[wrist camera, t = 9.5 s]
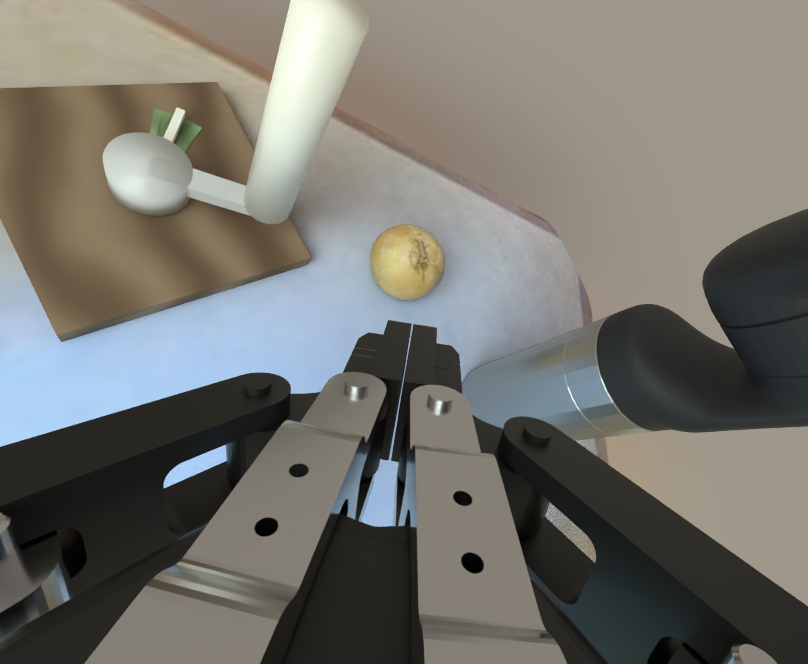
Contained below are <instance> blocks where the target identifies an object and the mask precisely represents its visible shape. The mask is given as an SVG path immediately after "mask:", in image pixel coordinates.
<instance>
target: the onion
mask: <svg viewBox="0 0 808 664" xmlns="http://www.w3.org/2000/svg"><path fill="white" fill-rule="evenodd" d="M370 265H371V271H372V274H373V277H374V279H375V282H376V283H377V285H378V286H379V287H380V288H381V289H382V290H383V291H384V292H386V293H387V294H389V295H390V296H392V297H394V298H396V299H400V300H416V299H419V298H421V297H423V296H425V295H427V294H429V293H430V292H431V291H432V290H433V289H434V288H435V287H436V286H437V285H438V284H439V282H440V280H441V278H442V277H443V274H444V268H445V260H444V254H443V249H442V247H441V245H440V243H439V242H438V241H437V240H436V238H435V237H434V236H433V235H432V234H430V233H429V232H427V231H426V230H424V229H422V228H420V227H417V226H414V225H409V224H404V225H398V226H395V227H392V228H389V229H387V230H386V231H384V232H383V233H382V234H381V235H380V236H379V237H378V238H377V239H376V241H375V242H374V244H373V247H372V250H371V254H370Z"/></svg>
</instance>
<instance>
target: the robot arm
mask: <svg viewBox="0 0 808 664" xmlns="http://www.w3.org/2000/svg"><path fill="white" fill-rule="evenodd" d="M702 283H703V289H704V292H705V296H706V298H707V300H708V303H709V306H710V308H711V310H712V312H713V314H714V316H715V318H716V319H717V321H718V323H720V326H721V328H722V329H723V331H724V333H725V334H726V336H727V337H728V339H729V341H730V343H731V344H732V346H733V347H734V349H733V348H730V347H727V346H725V345H723V344H720V343H718V342H716V341H714V340H712V339H711V338H709V337H707V336H705V335H704V334H702V333H701V332H700V331H698V330H697V329H695V328H694V327H693V326H692V325H690V324H689V323H688V322H686V321H685V320H684V319H683V318H681V317H680V316H679V315H677V314H676V313H674V312H672V311H671V310H669V309H667V308H664V307H661V306H658V305H653V304H643V305H637V306H634V307H631V308H628V309H625V310H623V311H620V312H618V313H615V314H613V315H610V316H608V317H605V318H603V319H600V320H598V321H595V322H593V323H590V324H587V325H585V326H582V327H580V328H578V329H575V330H573V331H570V332H568V333H565V334H562V335H560V336H557V337H555V338H552V339H550V340H547V341H545V342H542V343H539V344H537V345H534V346H532V347H529V348H527V349H524V350H522V351H519V352H516V353H514V354H511V355H509V356H506V357H504V358H501V359H498V360H496V361H493V362H490V363H488V364H485V365H483V366H480V367H478V368H476V369H474V370H473V371H471V372H470V373H469V374H468V375H467V377H466V378H465V380H464V382H463V384H461V373H460V360H459V354H458V353H457V352H456V350H455V349H454V348H453V347H452V346H450V345H443V344H437V343H436V338H437V328H435V327H429V326H422V325H416V324H414V325H413V331H412V336H411V342H410V348H409V354H408V359H407V365H406V371H405V377H404V383H403V389H402V395H401V402H400V408H399V414H398V421H397V427H396V433H395V439H394V446H393V452H392V458H391V461H396V462H399V465H398V472H397V478H396V484H395V496H394V519H393V526H389V527H374V526H370V525H367V524H365V523H362V522H361V521H362V518H363V515H364V512H365V509H366V506H367V503H368V499H369V496H370V493H371V490H372V487H373V483H374V477H375V473H376V471H377V470H378V467H379V462H380V459H383V460H389V455H390V449H391V443H392V438H393V432H394V427H395V421H396V415H397V410H398V404H399V399H400V393H401V387H402V381H403V375H404V369H405V363H406V356H407V350H408V344H409V337H410V331H411V324H410V323H403V322H397V321H391V320H388V322H387V325H386V328H385V331H384V334H383V335H381V334H375V333H367V334H365V335H364V336H362V337H360V338H359V339H358V341H357V343H356V345H355V348H354V350H353V352H352V355H351V356H350V358H349V361H348V363H347V365H346V367H345V369H344V371H343V373H340V374H337V375H335V376H333V377H332V378H330V379H329V381H328V382H327V383H326V385H325V386H324V388H323V389H322V391H321V392H317V393H308V394H290V393H291V387H290V384H289V382H288V381H287V380H286V379H284V378H283V377H280V376H278V375H275V374H270V373H249V374H244V375H240V376H237V377H234V378H230V379H227V380H224V381H220V382H217V383H214V384H210V385H207V386H204V387H200V388H197V389H193V390H190V391H187V392H183V393H180V394H177V395H173V396H170V397H167V398H163V399H160V400H157V401H153V402H150V403H146V404H143V405H140V406H136V407H133V408H130V409H126V410H123V411H120V412H116V413H113V414H110V415H106V416H103V417H99V418H96V419H93V420H89V421H86V422H83V423H79V424H76V425H73V426H69V427H66V428H62V429H59V430H56V431H52V432H49V433H46V434H42V435H39V436H36V437H32V438H29V439H26V440H22V441H19V442H15V443H12V444H9V445H5V446H2V447H0V664H808V606H806V605H805V604H804V603H802V602H801V601H799V600H798V599H796V598H795V597H794V596H792V595H791V594H789V593H788V592H787V591H785V590H784V589H782V588H781V587H779V586H778V585H777V584H775V583H774V582H773V581H771V580H770V579H768V578H767V577H766V576H764V575H762V574H761V573H760V572H759V571H757V570H756V569H754V568H753V567H751V566H750V565H749V564H747V563H746V562H744V561H743V560H742V559H740V558H739V557H737V556H736V555H735V554H733V553H732V552H730V551H729V550H727V549H726V548H725V547H723V546H722V545H721V544H719V543H718V542H716V541H715V540H714V539H712V538H711V537H709V536H708V535H706V534H705V533H704V532H702V531H701V530H699V529H698V528H697V527H695V526H694V525H692V524H691V523H690V522H688V521H687V520H685V519H684V518H682V517H681V516H680V515H678V514H677V513H675V512H674V511H673V510H671V509H670V508H669V507H667V506H666V505H664V504H663V503H661V502H660V501H659V500H657V499H656V498H654V497H653V496H652V495H650V494H649V493H647V492H646V491H645V490H643V489H642V488H640V487H639V486H638V485H636V484H635V483H633V482H632V481H631V480H629V479H628V478H626V477H625V476H623V475H622V474H621V473H619V472H618V471H616V470H615V469H614V468H612V467H611V466H609V465H608V464H607V463H605V462H604V461H602V460H601V459H600V458H598V457H597V456H595V455H594V454H593V453H591V452H590V451H588V450H587V449H586V448H584V447H583V446H581V445H580V444H578V443H577V442H576V440H585V439H593V438H602V437H611V436H619V435H626V434H635V433H644V432H652V431H660V430H670V429H672V430H678V431H684V432H695V433H698V432H715V431H727V430H743V429H744V430H745V429H760V428H761V429H762V428H782V427H805V426H808V209H806V210H803V211H800V212H797V213H795V214H792V215H790V216H787V217H785V218H783V219H780V220H777V221H775V222H772V223H770V224H767V225H765V226H763V227H761V228H759V229H757V230H755V231H753V232H751V233H749V234H747V235H745V236H743V237H741V238H739V239H738V240H736V241H735V242H733V243H732V244H730V245H729V246H727V247H726V248H725V249H723V250H722V251H721V252H720V253H718V254H717V255H716V256H715V257H714V258H713V259H712V260H711V261H710V263H709V265H708V266H707V268H706V269H705V271H704V275H703V281H702ZM223 445H226V451H227V461H226V462H223V463H221V464H219V465H217V466H214V467H212V468H210V469H208V470H205V471H203V472H201V473H198V474H196V475H194V476H192V477H189V478H187V479H185V480H183V481H180V482H178V483H176V484H174V485H171V486H169V487H167V488H164V487H163V484H164V480H165V478H166V476H167V474H168V473H169V472H170V471H171V470H172V469H173V468H174V467H175V466H177V465H178V464H180V463H182V462H184V461H187V460H189V459H191V458H194V457H196V456H199V455H201V454H204V453H206V452H209V451H211V450H213V449H216V448H218V447H221V446H223ZM550 502H551V503H552V504H553V505H554V506H555V507H556V508H557V509H558V510H560V511H561V512H562V513H563V514H564V515H565V516H566V517H567V518H569V519H570V520H571V521H572V522H573V523H574V524H575V525H576V526H578V527H579V528H580V529H581V530H582V531H583V532H584V533H585V534H586V535H587V536H588V537H589V538H590V540H591V541H592V543H593V545H594V548H595V551H596V562H595V563H594V562H593V561H592V560H591V559H590V558H589V557H587V556H586V555H585V554H584V553H583V552H582V551H581V550H580V549H579V548H578V547H577V546H576V545H575V544H574V543H572V542H571V541H570V540H569V539H568V538H567V537H566V536H565V535H564V534H563V533H562V532H561V531H560V530H558V529H557V528H556V527H555V526H554V525H553V524H552V523H551V522H550V521H549V520H548V519H547V518H546V517H545V514H546V512H547V509H548V506H549V504H550Z"/></svg>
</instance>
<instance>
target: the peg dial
mask: <svg viewBox="0 0 808 664" xmlns="http://www.w3.org/2000/svg"><path fill="white" fill-rule="evenodd" d="M368 29H369V17H368V15H367V12H366V10H365V8H364V6H363V5H362V3H361V2H360V1H359V0H291V2H290V6H289V10H288V14H287V18H286V23H285V27H284V31H283V35H282V39H281V43H280V48H279V52H278V56H277V60H276V64H275V68H274V72H273V77H272V81H271V85H270V89H269V93H268V97H267V101H266V106H265V110H264V114H263V118H262V122H261V126H260V130H259V135H258V139H257V143H256V147H255V151H254V155H253V160H252V164H251V168H250V172H249V176H248V180H247V184H246V186H245V185H242V184H239V183H236V182H233V181H230V180H227V179H224V178H221V177H218V176H215V175H212V174H209V173H206V172H203V171H200V170H197V169H194V168H192V164H191V162H190V160H189V158H188V156H187V155H186V154H185V152H184V151H183V150H182V149H181V148H180V147H178V146H177V145H176V144H174V141H175V139H176V136H177V134H178V132H179V129H180V127H181V125H182V122H183V120H184V118H185V110H182V109H180V108H178V107H177V108H176V110H175V112H174V115H173V117H172V119H171V121H170V124H169V126H168V128H167V130H166V132H165V135H164V137H161V136H158V135H154V134H150V133H142V132H135V133H127V134H123V135H120V136H118V137H116V138H114V139H113V140H112V141H111V142H109V143H108V145H107V146H106V148H105V150H104V153H103V165H104V170H105V174H106V179H107V183H108V187H109V189H110V191H111V193H112V194H113V196H114V197H115V198H116V199H117V200H118V201H119V202H120V203H121V204H123V205H124V206H126V207H127V208H129V209H131V210H133V211H135V212H138V213H141V214H146V215H152V216H162V215H169V214H172V213H175V212H177V211H179V210H181V209H182V208H183V207H185V206H186V204H187V203H188V202H189V200H190V198H193V199H197V200H200V201H203V202H206V203H210V204H213V205H216V206H220V207H223V208H226V209H230V210H233V211H236V212H240V213H243V214H246V215H249V216H252V217H253V218H254V219H256V220H258V221H260V222H262V223H265V224H279V223H282V222H283V221H285V220H286V219H287V218H288V216H289V214H290V212H291V210H292V207H293V205H294V203H295V200H296V198H297V196H298V193H299V191H300V189H301V186H302V184H303V181H304V179H305V177H306V174H307V172H308V170H309V167H310V165H311V163H312V160H313V158H314V156H315V153H316V151H317V149H318V146H319V144H320V142H321V139H322V137H323V134H324V132H325V130H326V127H327V125H328V123H329V120H330V118H331V116H332V113H333V111H334V109H335V106H336V104H337V101H338V99H339V97H340V94H341V92H342V90H343V87H344V85H345V82H346V80H347V78H348V76H349V73H350V71H351V68H352V66H353V64H354V62H355V59H356V57H357V54H358V52H359V50H360V47H361V45H362V43H363V40H364V38H365V36H366V33H367V31H368Z"/></svg>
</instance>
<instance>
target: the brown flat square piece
mask: <svg viewBox="0 0 808 664" xmlns="http://www.w3.org/2000/svg"><path fill="white" fill-rule="evenodd" d="M177 107H178V108H180V109H182V110H185V118H184V120H183V122H182V125H181V127H180V129H179V132H178V134H177V136H176V139H175V141H174V144H176V145H177V146H178V147H180V148H181V149H182V150H183V151H184V152H185V154H186V155H187V156H188V158H189V160H190V162H191V164H192V168H194V169H197V170H200V171H203V172H206V173H209V174H212V175H215V176H218V177H221V178H224V179H227V180H230V181H233V182H236V183H239V184H242V185H245V186H246V184H247V180H248V176H249V172H250V168H251V164H252V160H253V155H254V150H253V148H252V146H251V144H250V142H249V140H248V139H247V137H246V135H245V133H244V131H243V129H242V127H241V125H240V124H239V122H238V120H237V118H236V116H235V114H234V112H233V111H232V109H231V107H230V105H229V103H228V101H227V99H226V97H225V96H224V94H223V92H222V90H221V88H220V86H219V84H218V82H203V83H169V84H136V85H102V86H68V87H35V88H1V89H0V219H1V221H2V223H3V225H4V227H5V229H6V231H7V233H8V235H9V237H10V240H11V242H12V244H13V246H14V248H15V250H16V252H17V254H18V256H19V258H20V260H21V262H22V264H23V266H24V269H25V271H26V273H27V275H28V277H29V279H30V281H31V283H32V285H33V287H34V289H35V291H36V293H37V295H38V298H39V300H40V302H41V304H42V306H43V308H44V310H45V312H46V314H47V316H48V318H49V320H50V322H51V325H52V327H53V329H54V331H55V333H56V335H57V336H58V338H59V339H60V340H61V342H63V341H66V340H69V339H72V338H75V337H79V336H82V335H85V334H88V333H91V332H94V331H98V330H101V329H104V328H107V327H110V326H114V325H117V324H120V323H123V322H126V321H129V320H133V319H136V318H139V317H142V316H145V315H149V314H152V313H155V312H158V311H161V310H165V309H168V308H171V307H174V306H177V305H180V304H184V303H187V302H190V301H193V300H196V299H200V298H203V297H206V296H209V295H212V294H215V293H219V292H222V291H225V290H228V289H231V288H235V287H238V286H241V285H244V284H247V283H250V282H254V281H257V280H260V279H263V278H266V277H270V276H273V275H276V274H279V273H282V272H286V271H289V270H292V269H295V268H298V267H301V266H305V265H307V264H308V262H309V261H310V259H311V256H310V255H309V253H308V251H307V249H306V247H305V245H304V243H303V242H302V240H301V238H300V236H299V234H298V232H297V230H296V228H295V227H294V225H293V223H292V221H291V219H290V217H289V216H288V218H287V219H286V220H285V221H283V222H282V223H279V224H265V223H262V222H260V221H258V220H256V219H254V218H253V217H252V216H249V215H246V214H243V213H240V212H236V211H233V210H230V209H226V208H223V207H220V206H216V205H213V204H210V203H206V202H203V201H200V200H197V199H193V198H190V200H189V202H188V203H187V204H186V206H185V207H183V208H182V209H181V210H179V211H177V212H175V213H172V214H169V215H162V216H152V215H146V214H141V213H138V212H135V211H133V210H131V209H129V208H127V207H126V206H124V205H123V204H121V203H120V202H119V201H118V200H117V199H116V198H115V197H114V196H113V194H112V193H111V191H110V189H109V187H108V183H107V179H106V174H105V170H104V165H103V153H104V150H105V148H106V146H107V145H108V143H109V142H111V141H112V140H113V139H114V138H116V137H118V136H120V135H123V134H127V133H135V132H142V133H150V134H154V135H158V136H161V137H164V135H165V132H166V130H167V128H168V126H169V124H170V121H171V119H172V117H173V115H174V112H175V110H176V108H177Z"/></svg>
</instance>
